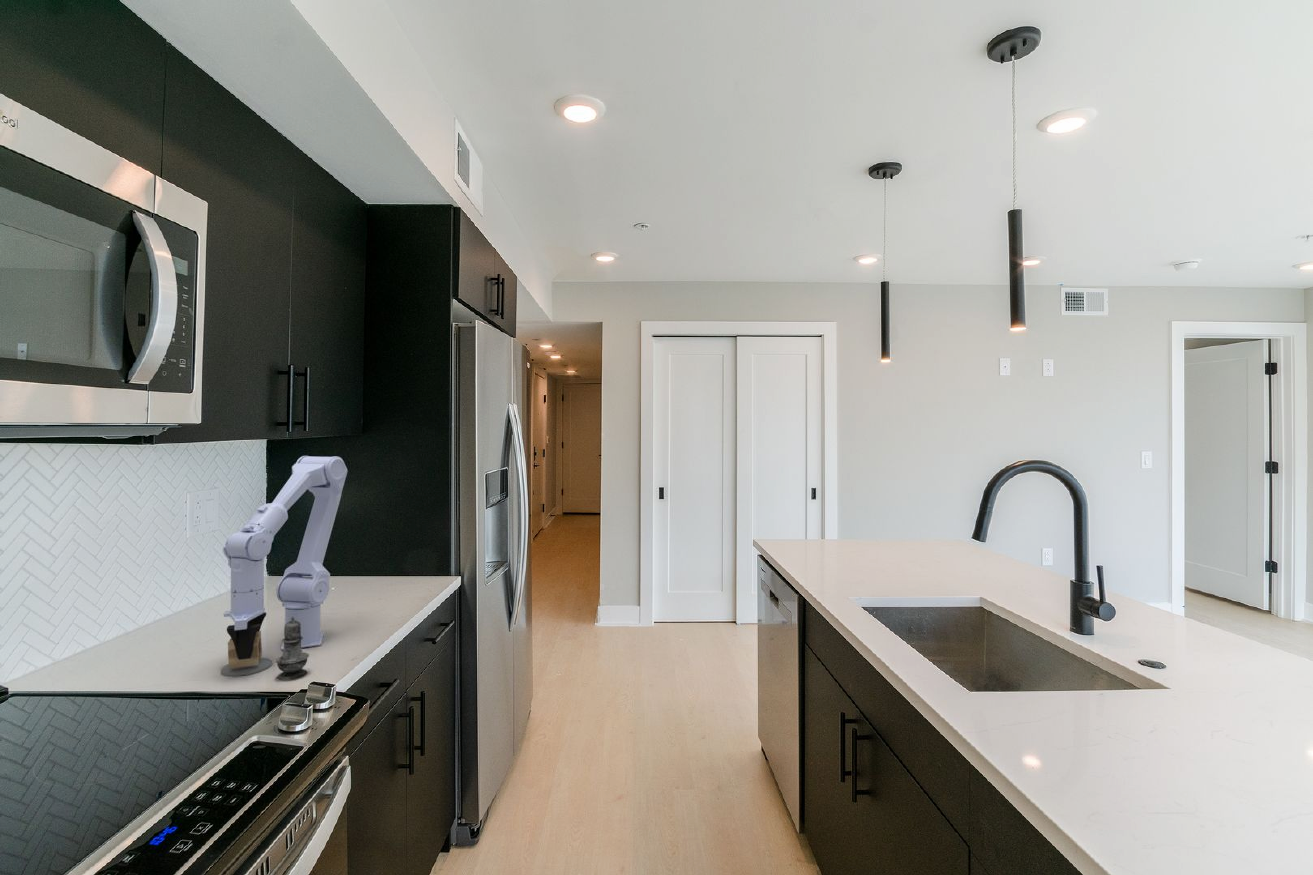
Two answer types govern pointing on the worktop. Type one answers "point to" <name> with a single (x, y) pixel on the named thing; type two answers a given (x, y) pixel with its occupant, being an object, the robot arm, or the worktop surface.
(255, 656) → the slotted wooden block
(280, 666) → the dark grey stone ornament
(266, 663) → the pad
